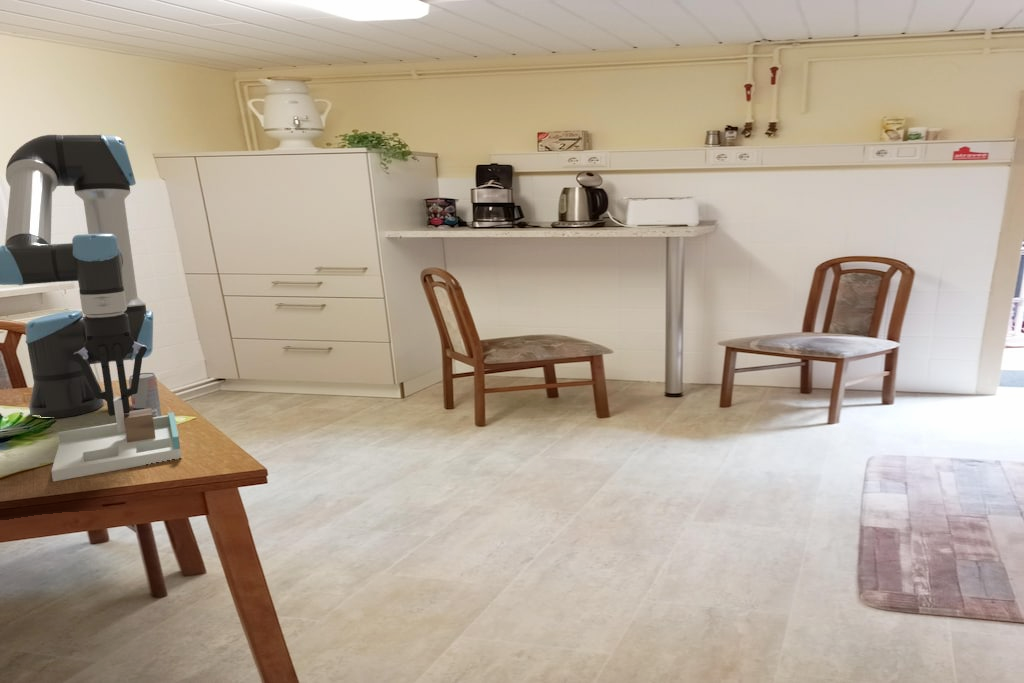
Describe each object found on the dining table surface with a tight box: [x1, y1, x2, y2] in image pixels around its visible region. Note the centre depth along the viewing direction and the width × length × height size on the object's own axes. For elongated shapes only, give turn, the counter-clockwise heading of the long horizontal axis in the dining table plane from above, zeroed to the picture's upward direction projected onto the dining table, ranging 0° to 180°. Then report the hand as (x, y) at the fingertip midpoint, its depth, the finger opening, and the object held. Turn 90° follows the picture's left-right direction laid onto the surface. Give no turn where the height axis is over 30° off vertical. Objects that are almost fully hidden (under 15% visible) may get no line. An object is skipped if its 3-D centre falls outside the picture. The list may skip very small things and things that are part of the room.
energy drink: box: [128, 372, 163, 417], centre depth 151 cm, size 5×5×12 cm
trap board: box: [51, 411, 182, 483], centre depth 137 cm, size 18×21×4 cm
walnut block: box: [124, 408, 155, 443], centre depth 141 cm, size 5×5×5 cm
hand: (122, 429), depth 139 cm, fingers closed
